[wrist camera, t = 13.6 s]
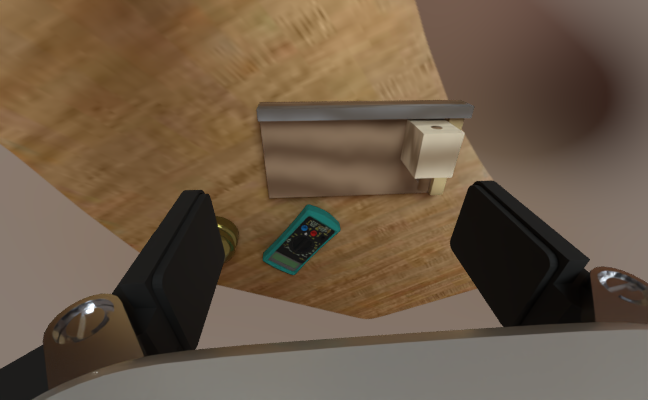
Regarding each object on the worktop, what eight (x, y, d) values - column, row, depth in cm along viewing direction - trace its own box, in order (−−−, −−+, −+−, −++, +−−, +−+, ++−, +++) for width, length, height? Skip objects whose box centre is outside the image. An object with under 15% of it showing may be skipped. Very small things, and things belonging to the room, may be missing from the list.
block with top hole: (407, 118, 37) (424, 133, 32) (442, 118, 38) (464, 133, 33) (397, 176, 42) (410, 197, 37) (428, 175, 42) (446, 196, 37)
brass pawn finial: (187, 233, 48) (163, 278, 39) (211, 207, 45) (191, 249, 37) (223, 253, 51) (208, 299, 43) (248, 230, 48) (237, 274, 40)
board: (259, 102, 37) (256, 109, 34) (461, 99, 38) (474, 106, 35) (270, 191, 44) (268, 203, 41) (437, 185, 46) (447, 197, 43)
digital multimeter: (342, 219, 49) (344, 230, 47) (293, 267, 55) (293, 279, 52) (309, 199, 46) (310, 209, 44) (262, 252, 52) (260, 263, 49)
